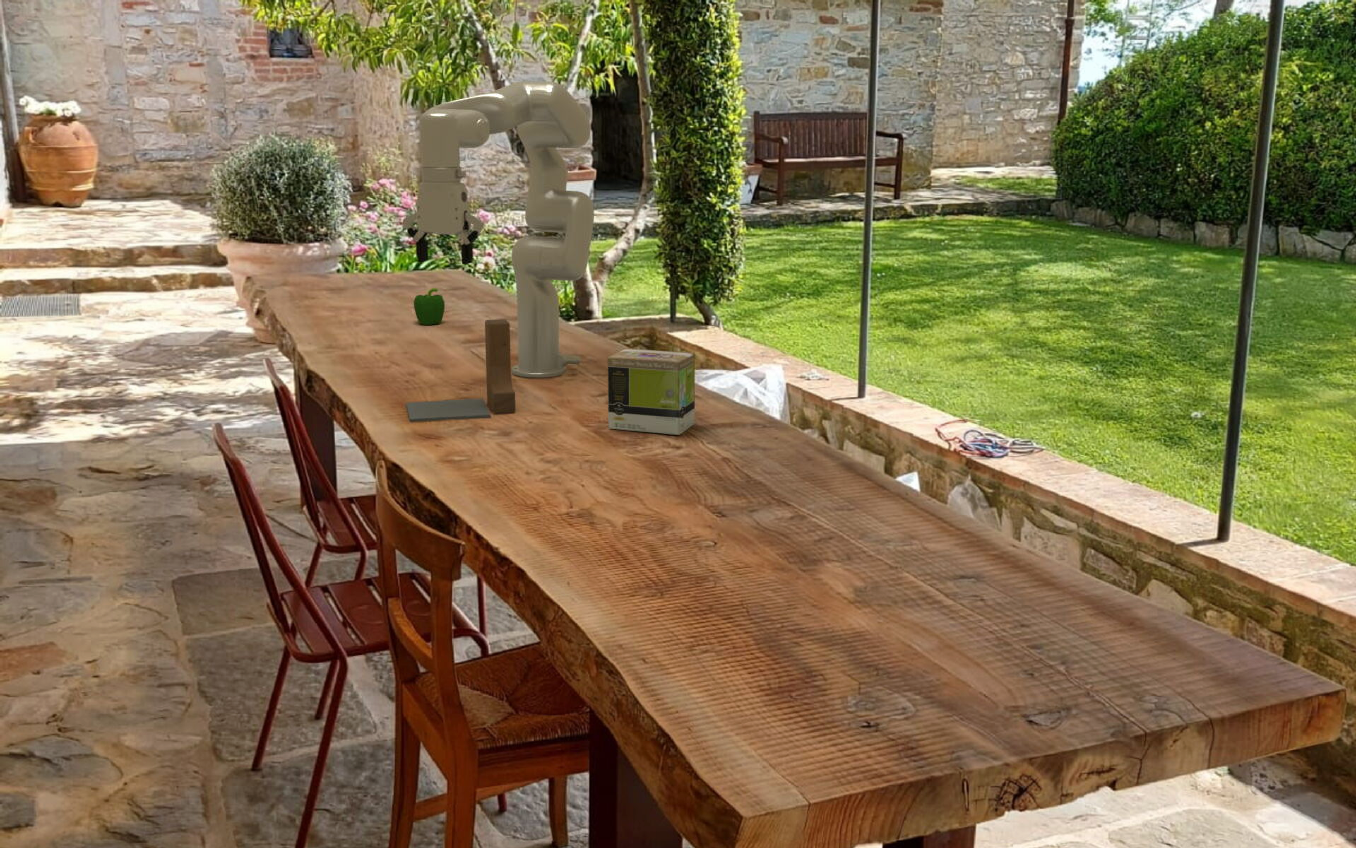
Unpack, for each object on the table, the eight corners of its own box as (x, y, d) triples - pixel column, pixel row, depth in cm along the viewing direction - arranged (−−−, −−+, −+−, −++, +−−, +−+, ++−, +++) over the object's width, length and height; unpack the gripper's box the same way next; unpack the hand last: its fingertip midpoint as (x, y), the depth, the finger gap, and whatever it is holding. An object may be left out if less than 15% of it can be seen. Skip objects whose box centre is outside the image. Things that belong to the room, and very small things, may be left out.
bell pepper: (408, 325, 357) (407, 289, 354) (423, 320, 364) (421, 285, 362) (436, 327, 354) (435, 291, 352) (449, 322, 362) (448, 287, 359)
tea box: (695, 424, 257) (696, 351, 253) (679, 437, 248) (680, 361, 244) (625, 417, 262) (625, 346, 258) (606, 429, 253) (606, 355, 249)
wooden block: (515, 413, 264) (513, 326, 260) (493, 414, 263) (491, 327, 258) (508, 402, 272) (506, 318, 268) (486, 404, 271) (484, 319, 267)
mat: (482, 401, 273) (482, 398, 273) (490, 417, 260) (490, 414, 260) (405, 405, 269) (405, 402, 269) (410, 421, 256) (410, 419, 256)
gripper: (489, 175, 256) (492, 261, 260) (410, 173, 260) (414, 257, 265) (472, 178, 249) (476, 267, 253) (392, 176, 253) (397, 263, 258)
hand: (444, 262), depth 259 cm, fingers open, 9 cm apart
